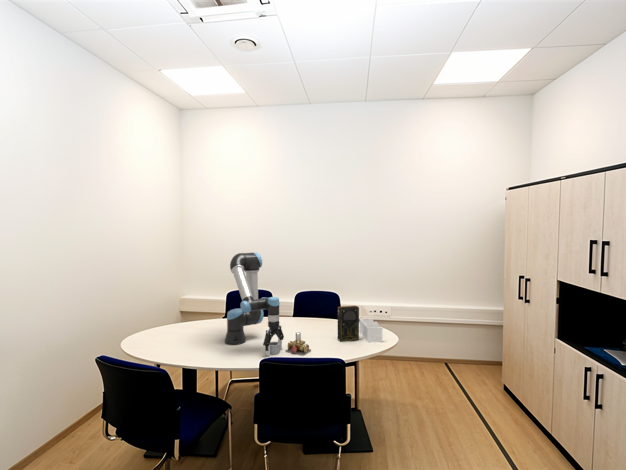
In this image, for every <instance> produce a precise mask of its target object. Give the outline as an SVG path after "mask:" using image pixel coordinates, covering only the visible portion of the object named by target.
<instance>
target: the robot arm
mask: <svg viewBox="0 0 626 470" xmlns="http://www.w3.org/2000/svg"><path fill="white" fill-rule="evenodd" d="M262 266H263V259H262V257H261V254H260V253H258V252H239V253H237V254H235V255H234V256H233V257H232V258H231V260H230V264H229V268H230V271H231V273H232V274H233V278H234V279H235V283H236V286H237V288H238V291H239V295H240V298H241V302H240V307H239V308H233V309H230V310H229V311H227V314H226V316H227V317H226V328H227V331H226V334H225V338H224V343H225V344H226V345H233V346H234V345H241V344H245V342H246V341H247V336H246V335H245V330H244V327H246V326H247V327H248V326H253V325H258V324H261V323H262V321H264V316H265V315H264V313H265V312H264V310H265V311H266V310H267V320H268V321H267V327H268V329H266V330H265V335H264V339H263V343H262V345H263V346H265V356H267V357H270V356H271V355H270V346H269V344H270V342H272V338H273V337H274V336H276V337H277V342H279V343H280V351H282V349H283V347H282V346H283V345H282V344H283V340H284V339H285V335H284V333H283V330H282V325H280V298H279V297H278V296H271V297H265V296H264V297H261V298H259V284H258V280H259V279H258V278H259V277H258V272H259V271H260V269H261V268H262Z"/></svg>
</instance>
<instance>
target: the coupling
mask: <svg viewBox="0 0 626 470" xmlns="http://www.w3.org/2000/svg"><path fill="white" fill-rule="evenodd" d="M269 346H270V356H273V355H274V356H276V355H280V353H281V350H280V343H279V342H278V341H270V344H269Z"/></svg>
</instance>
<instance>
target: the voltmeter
mask: <svg viewBox="0 0 626 470" xmlns="http://www.w3.org/2000/svg"><path fill="white" fill-rule="evenodd" d="M337 339H338V341H339V342H341V343H342V342H352V341H353V342H355V341H359V340H360V307H359V306H357V305H343V306H341V305H340V306H337Z"/></svg>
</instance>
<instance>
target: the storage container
mask: <svg viewBox="0 0 626 470" xmlns="http://www.w3.org/2000/svg"><path fill="white" fill-rule="evenodd" d="M359 334H361V336H362V337H363V338H364V340H365V341H366V342H367V343H383V326H379V322H377V321H374V318H372V317H371V318H370V317H369V318H359Z"/></svg>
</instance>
